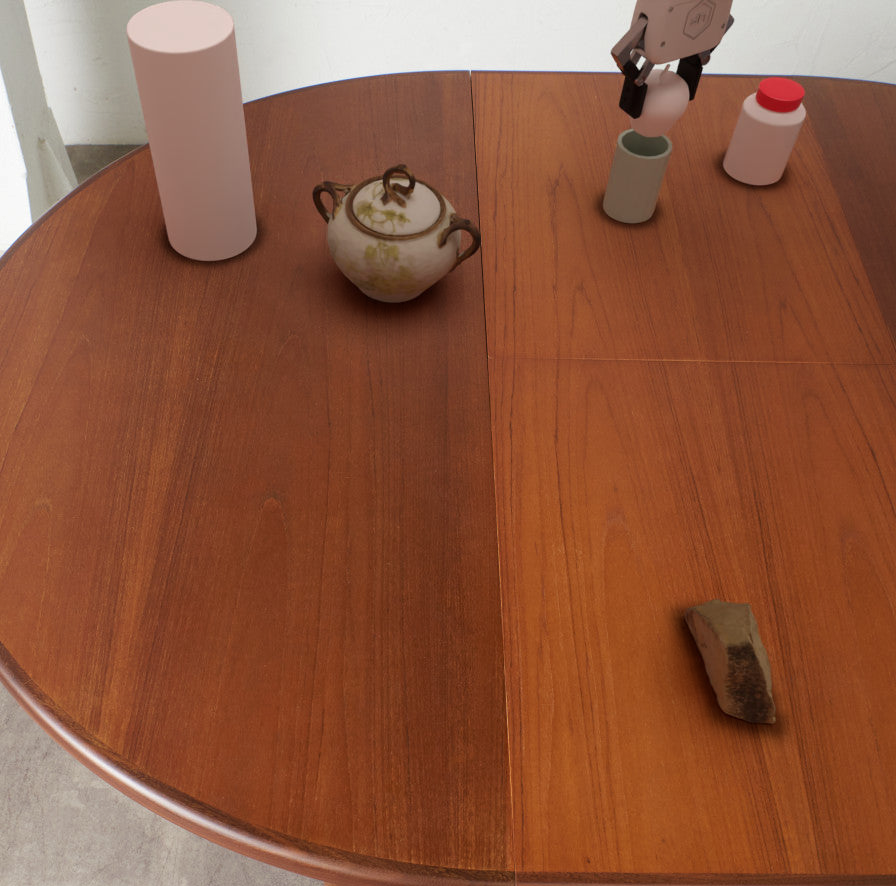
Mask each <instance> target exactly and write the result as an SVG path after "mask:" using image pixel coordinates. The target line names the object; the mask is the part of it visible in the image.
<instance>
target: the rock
mask: <svg viewBox="0 0 896 886" xmlns="http://www.w3.org/2000/svg"><path fill="white" fill-rule="evenodd" d="M683 616H684V619H685V622H686V624H687V626H688V629H689V631H690V633H691V634H692V637H693V638H694V641H695V644H696V646H697V649H698V652H699V653H700V655H701V657H702V660H703V663H704V668H705V672H706V674H707V676H708V679H709V682H710V685H711V686H712V688H713V691H714V693H715V694H716V701H717V704H718V706H719V708H720V709H721V711H722V712H724V714H727V715H729V716H731V717H734V718H737V719H739V720H743V721H746V722H749V723H753V724H771V725H773V724H775V722H776V721H777V719H776V717H775V715H776V712H777V708H776V705H775V702H774V700H773V694H772V690H773V681H772V679H773V678H772V674H771V673H772V669H771V668H772V667H771V663H770V660H769V656H768V652H767V650H766V647H765V646H764V643H763V642H762V638H761V636H760V632H759V627H758V621H757V619H756V617H755V615H754V613H753V611H752V606H751V604H750V603H749V602H743V603H741V602H740V603H737V602H732V601H729V602H727V601H721V599H719V598H714V599H710V600H708V601H706V602H704V603H701V604H698V605H694V606H691V607H686V608H685V610H684V614H683Z"/></svg>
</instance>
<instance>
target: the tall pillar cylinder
mask: <svg viewBox="0 0 896 886" xmlns="http://www.w3.org/2000/svg"><path fill="white" fill-rule="evenodd" d="M125 32H126V37H127V41H128V46H129V51H130V57H131V62H132V65H133V71H134V76H135V81H136V86H137V90H138V91H137V92H138V95H139V101H140V106H141V111H142V115H143V121H144V125H145V130H146V135H147V139H148V146H149V150H150V155H151V160H152V165H153V170H154V175H155V179H156V184H157V188H158V194H159V198H160V204H161V209H162V213H163V219H164V223H165V228H166V234H167V238H168V242H169V244H170V246H171V247H172V248H173V249H174V250H175V251H176V252H177V253H178V254H180V255H181V256H183V257H186V258H187V259H191V260H195V261H201V262H202V261H203V262H215V261H223V260H227V259H230V258H233V257H236V256H238V255H240V254H242V253H243V252H245V251H246V250H247V249H248V248H250V247H251V246H252V245H253V243H254V242H255V240H256V238H257V233H258V228H257V227H258V226H257V220H256V219H257V217H256V210H255V201H254V199H255V198H254V193H253V192H254V191H253V184H252V182H253V181H252V174H251V165H250V155H249V147H248V138H247V129H246V128H247V127H246V119H245V111H244V102H243V101H244V100H243V93H242V84H241V76H240V65H239V58H238V57H239V56H238V48H237V40H236V39H237V38H236V30H235V23H234V19H233V17H232V15H231V14H230V13H229V12H228V11H226V10H225V9H224V8H222V7H221V6H218V5H216V4H214V3H209V2H206V1H200V0H170V1H169V0H168V1H164V2H159V3H156V4H152V5H150V6H146V7H145V8H143V9H141V10H139V11H138V12H136V13H135V14H134V15H132V17H131V18H130V19H129V21H128V22H127V25H126V30H125Z"/></svg>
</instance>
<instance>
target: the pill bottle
mask: <svg viewBox="0 0 896 886" xmlns="http://www.w3.org/2000/svg"><path fill="white" fill-rule="evenodd" d="M805 91H806V90H805V88H804V87H803V86H802V85H801V84H800V83H798V82H797V81H795V80H793V79H790V78H787V77H781V76H780V77H779V76H771V77H766V78H764V79H762V80H761V81H760V82H759V84H758V86H757V90H756V91H755V92H753V93H752V94H750V95H748V96H746V98H745V99H744V100H743V103H742V105H741V107H740V111H739V114H738V117H737V120H736V122H735V126H734V127H733V131H732V135H731V137H730V141H729V143H728V146H727V149H726V152H725V156H724V158H723V161H722V167H723V169H724V171H725V172H726V173H727V175H729V176H730V177H731V178H733V179H734V180H736V181H738V182H741V183H743V184H747V185H751V186H767V185H768V186H769V185H772V184H774V183H777V182H778V181H779V180H780V179H781V178H782V177H783V175H784V172H785V169H786V167H787V164H788V162H789V160H790V157H791V154H792V152H793V149H794V147H795V144H796V143H797V140H798V137H799V134H800V132H801V130H802V128H803V124H804V122H805V120H806V118H807V117H806V116H807V110H806V108H805V106H804V104H803V100H804V97H805V94H806V92H805Z"/></svg>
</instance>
